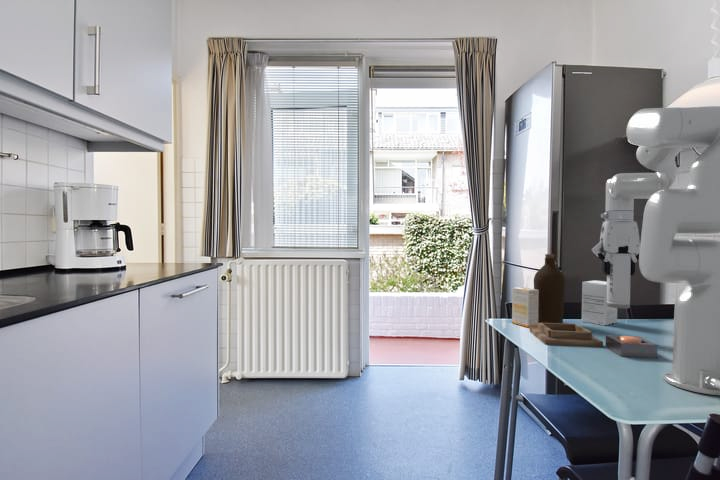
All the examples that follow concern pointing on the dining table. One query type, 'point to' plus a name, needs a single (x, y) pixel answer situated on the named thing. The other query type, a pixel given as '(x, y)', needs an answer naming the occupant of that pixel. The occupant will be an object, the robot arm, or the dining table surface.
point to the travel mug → (619, 279)
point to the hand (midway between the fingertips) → (618, 274)
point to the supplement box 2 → (596, 304)
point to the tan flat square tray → (565, 334)
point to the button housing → (631, 347)
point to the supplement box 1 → (525, 306)
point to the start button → (630, 339)
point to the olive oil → (550, 292)
